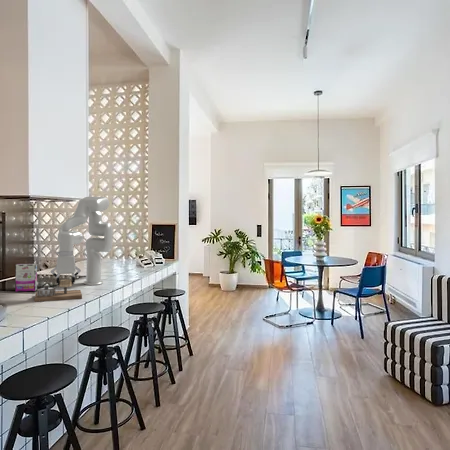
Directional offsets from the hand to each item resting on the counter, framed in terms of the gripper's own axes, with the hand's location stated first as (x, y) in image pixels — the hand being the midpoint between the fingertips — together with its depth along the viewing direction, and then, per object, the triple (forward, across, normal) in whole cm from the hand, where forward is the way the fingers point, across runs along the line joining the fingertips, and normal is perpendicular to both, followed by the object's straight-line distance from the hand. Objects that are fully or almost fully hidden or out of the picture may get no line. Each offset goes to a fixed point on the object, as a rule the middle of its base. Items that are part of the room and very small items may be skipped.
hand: (65, 283), depth 209 cm
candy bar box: (+8, -22, +23) cm, 32 cm away
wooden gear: (+1, 0, 0) cm, 1 cm away
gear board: (+8, -4, 0) cm, 8 cm away
